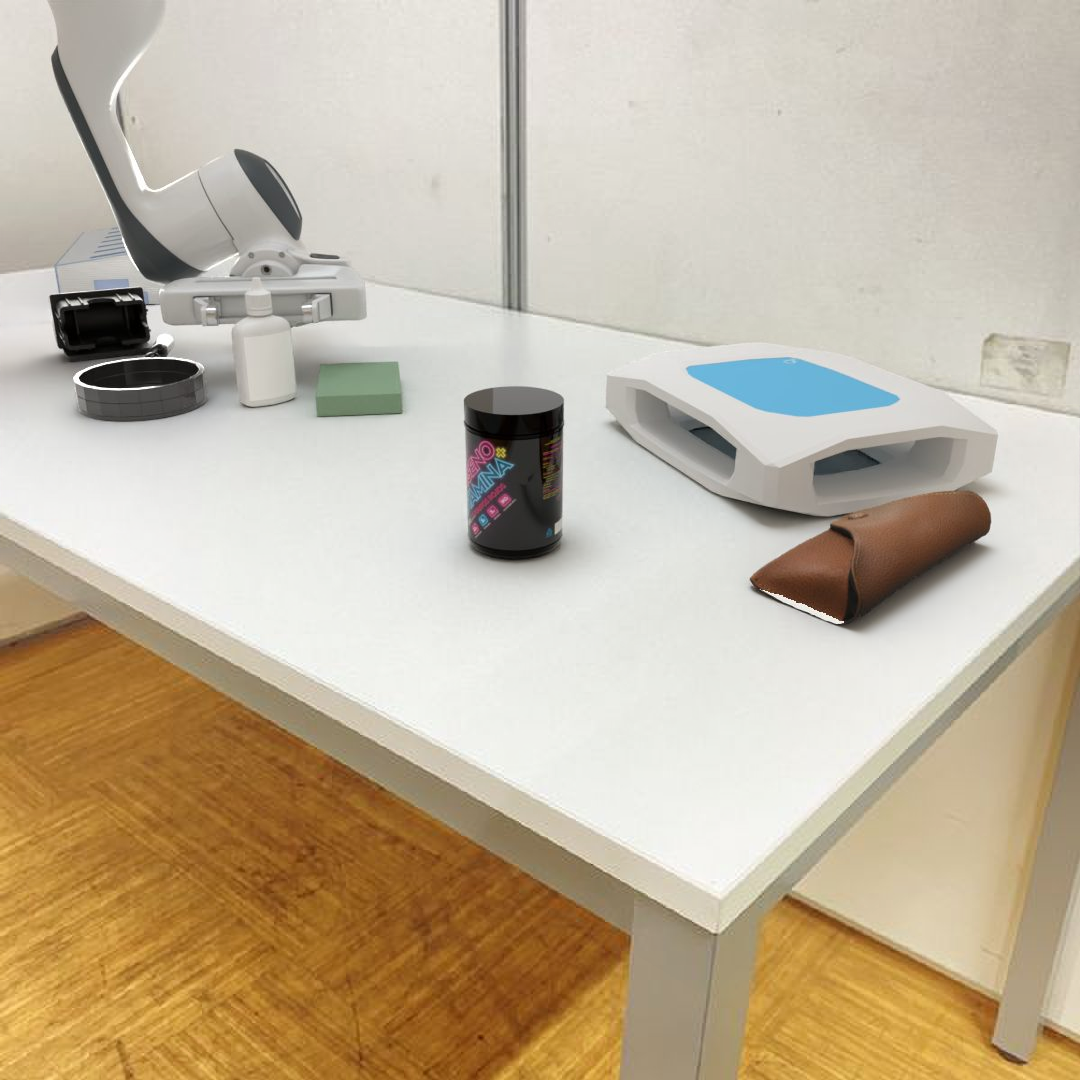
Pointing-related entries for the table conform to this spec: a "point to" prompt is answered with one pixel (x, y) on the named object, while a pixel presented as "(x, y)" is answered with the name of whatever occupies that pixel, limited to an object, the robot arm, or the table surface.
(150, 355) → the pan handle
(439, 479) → the table surface
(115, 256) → the warehouse
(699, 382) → the white step platform
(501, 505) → the supplement container
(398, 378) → the block
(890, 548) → the sunglasses case
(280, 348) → the eye dropper bottle
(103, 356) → the end cap
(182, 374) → the pan
